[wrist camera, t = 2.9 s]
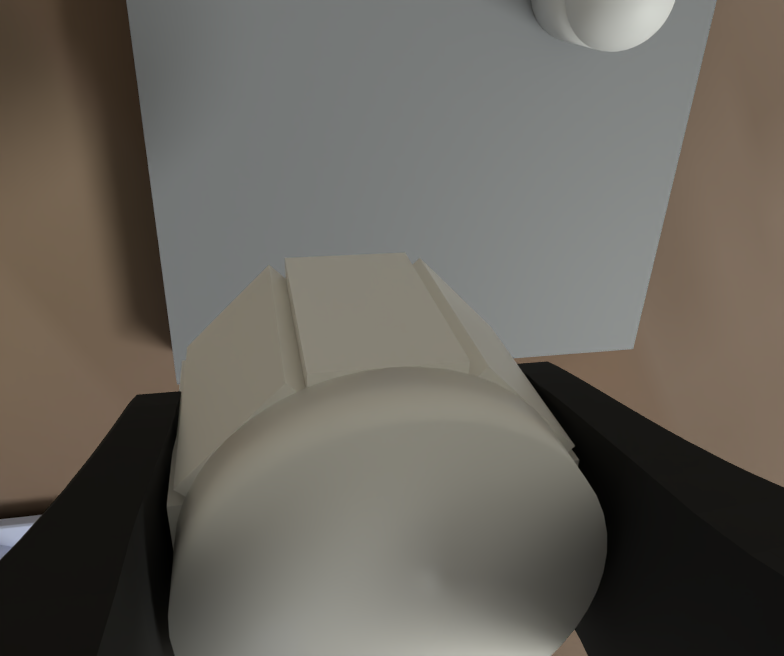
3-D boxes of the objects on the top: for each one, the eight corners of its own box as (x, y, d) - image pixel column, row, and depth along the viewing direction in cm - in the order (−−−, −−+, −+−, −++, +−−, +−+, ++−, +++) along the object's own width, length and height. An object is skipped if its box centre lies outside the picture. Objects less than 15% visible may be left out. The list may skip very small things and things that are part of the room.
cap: (202, 526, 12) (193, 773, 8) (169, 263, 10) (136, 448, 6) (474, 494, 13) (569, 701, 9) (505, 248, 11) (648, 398, 7)
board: (180, 354, 19) (168, 455, 15) (104, -243, 13) (53, -323, 9) (608, 325, 22) (689, 404, 18) (718, -184, 15) (878, -228, 12)
